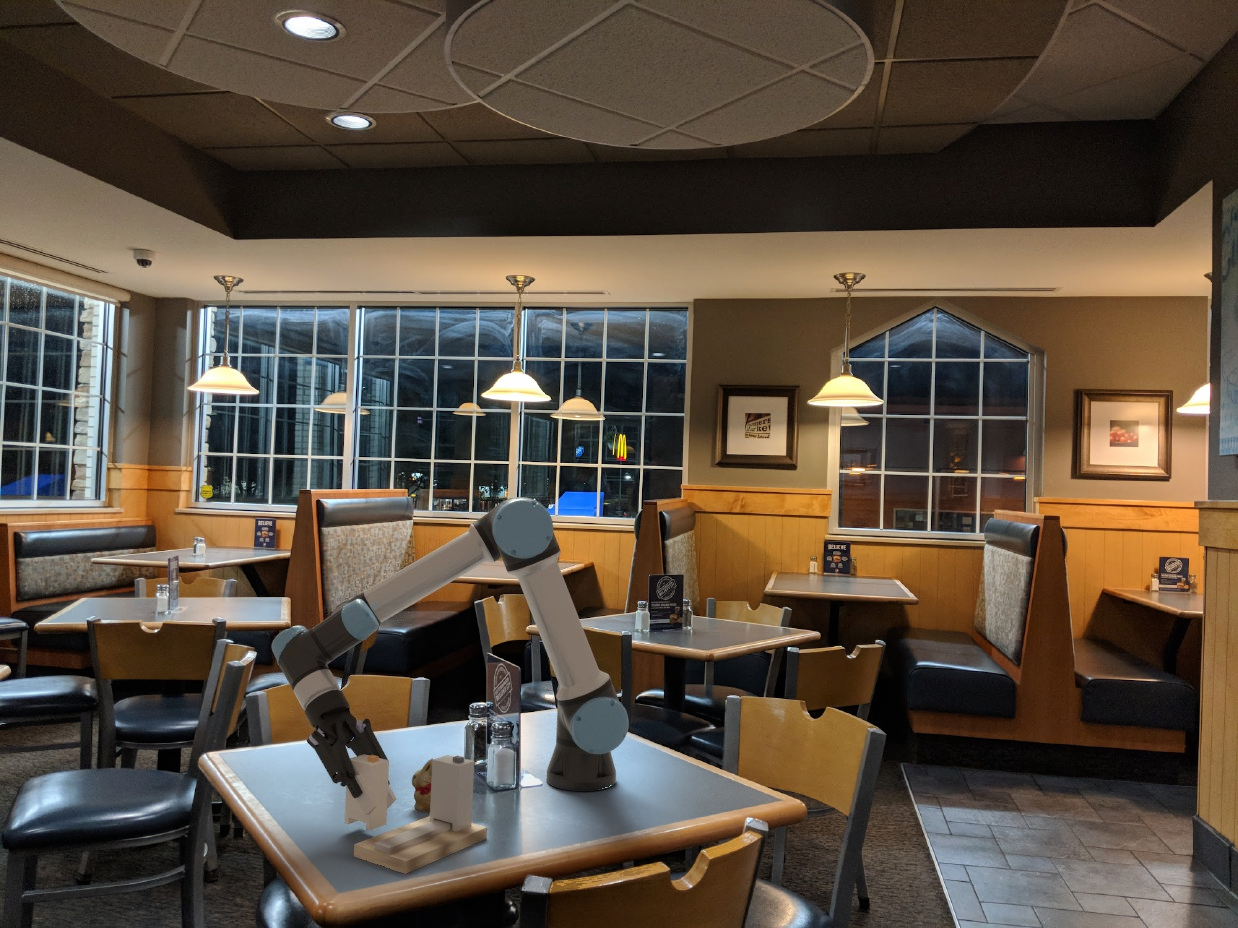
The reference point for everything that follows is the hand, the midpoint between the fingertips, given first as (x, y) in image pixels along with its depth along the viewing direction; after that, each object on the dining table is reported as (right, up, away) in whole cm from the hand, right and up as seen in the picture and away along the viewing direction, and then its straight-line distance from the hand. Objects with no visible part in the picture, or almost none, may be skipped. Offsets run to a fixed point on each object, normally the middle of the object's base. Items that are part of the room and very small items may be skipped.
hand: (381, 806), depth 165 cm
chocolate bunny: (+6, -6, +16) cm, 18 cm away
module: (-3, -4, +2) cm, 5 cm away
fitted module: (+12, -4, +2) cm, 13 cm away
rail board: (+8, -5, -4) cm, 11 cm away
